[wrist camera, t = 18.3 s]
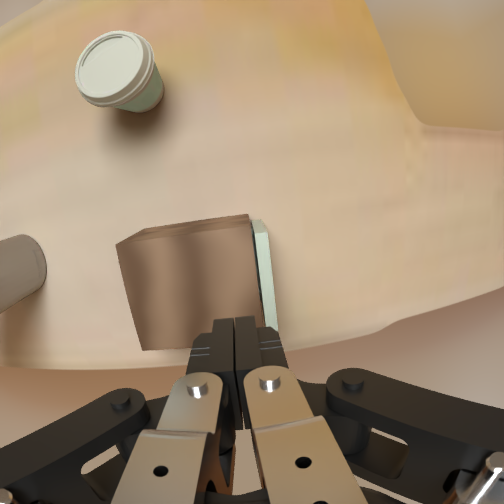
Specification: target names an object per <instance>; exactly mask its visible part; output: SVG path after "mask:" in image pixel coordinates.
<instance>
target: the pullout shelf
mask: <svg viewBox="0 0 504 504" xmlns="http://www.w3.org/2000/svg"><path fill="white" fill-rule="evenodd" d="M251 222H252V227H251V234H252V242H253V250H254V257H255V265H256V273H257V281H258V289H259V297H260V300H261V301H262V307H263V313H264V319H265V325H266V327H268V326H271V327H272V328H273V329H275V330H276V331H278V323H277V314H276V304H275V295H274V286H273V277H272V268H271V259H270V250H269V241H268V233H267V230H266V228H265V226H264V224H263V222H262V220H261V219H259V220H251Z"/></svg>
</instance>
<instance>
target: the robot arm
mask: <svg viewBox="0 0 504 504" xmlns="http://www.w3.org/2000/svg"><path fill="white" fill-rule="evenodd" d="M45 277H46V263H45V258H44V255H43V252H42V250H41V248H40V247H39V245H38V244H37V243H36V241H35V240H34V239H32V238H31V237H29V236H27V235H17V236H14V237H11V238H8V239H5V240H1V241H0V313H2V312H3V311H5V310H6V309H8V308H9V307H11V306H13V305H14V304H16V303H17V302H19V301H20V300H22V299H23V298H25V297H27V296H28V295H30V294H31V293H33V292H34V291H36V290H38V289H39V288H40V287H41V286H42V284H43V283H44V280H45ZM242 412H243V417H242ZM243 418H244V424H245V429H251V436H252V442H253V448H254V453H255V458H256V463H257V468H258V473H259V477H260V482H261V487H262V489H261V490H257V491H254V492H250V493H246V494H242V495H232V491H233V478H234V466H235V452H236V447H235V439H236V435H235V434H236V433H235V430H243ZM372 428H375V429H377V430H380V431H382V432H385V433H387V434H390V435H393V436H395V437H398V438H400V439H402V440H404V441H405V442H406V443H407V444H408V445H405V444H402V443H399V442H397V441H394V440H392V439H389V438H387V437H384V436H382V435H379V434H377V433H374V432H371V429H372ZM114 445H116V447H117V449H118V451H119V452H120V454H118V455H116V456H115V457H113V458H112V459H110V460H109V461H107V462H106V463H104V464H102V465H101V466H99V467H97V468H96V469H94V470H93V471H91V472H89V473H87V474H81V468H82V466H83V465H84V464H85V463H86V462H88V461H89V460H91V459H93V458H94V457H96V456H98V455H99V454H101V453H103V452H104V451H106V450H107V449H109V448H111V447H112V446H114ZM353 474H354V475H356V476H358V477H360V478H362V479H364V480H367V481H369V482H371V483H373V484H375V485H378V486H380V487H383V488H385V489H387V490H389V491H392V492H394V493H397V494H399V495H401V496H404V497H406V498H409V499H412V500H414V501H417V502H420V503H423V504H504V409H500V408H496V407H492V406H488V405H484V404H480V403H475V402H471V401H468V400H464V399H460V398H456V397H453V396H449V395H445V394H442V393H438V392H435V391H431V390H428V389H424V388H421V387H418V386H414V385H411V384H408V383H405V382H402V381H398V380H395V379H392V378H389V377H386V376H383V375H380V374H376V373H374V372H371V371H368V370H364V369H360V368H347V369H342V370H339V371H337V372H335V373H333V374H332V375H331V376H330V377H329V378H328V380H327V382H326V384H315V383H307V382H303V381H300V380H298V379H296V377H295V375H294V373H293V372H292V371H291V370H289V368H288V365H287V361H286V358H285V354H284V351H283V347H282V344H281V341H280V337H279V334H278V332H277V331H276V330H275V329H273V328H272V327H271V326H268V327H259V328H256V322H255V316H254V315H251V316H242V317H235V324H234V318H223V319H214V320H213V327H212V332H210V333H201V334H200V335H199V336H198V337H197V338H196V339H195V340H194V341H193V345H192V350H191V353H190V358H189V362H188V366H187V371H186V375H185V376H183V377H181V378H180V379H179V380H177V381H176V382H175V383H174V385H173V387H172V390H171V392H170V395H168V396H165V397H162V398H157V399H153V400H148V401H146V400H145V397H144V395H143V394H142V393H141V392H140V391H138V390H136V389H131V388H122V389H117V390H114V391H111V392H109V393H107V394H105V395H103V396H101V397H100V398H98V399H96V400H94V401H93V402H90V403H89V404H87V405H85V406H83V407H81V408H79V409H77V410H76V411H74V412H72V413H70V414H68V415H66V416H65V417H62V418H61V419H59V420H57V421H55V422H53V423H51V424H49V425H47V426H45V427H43V428H41V429H39V430H37V431H35V432H33V433H31V434H29V435H27V436H25V437H23V438H21V439H19V440H17V441H15V442H13V443H11V444H9V445H6V446H4V447H3V448H0V504H406V503H403V502H401V501H399V500H397V499H394V498H392V497H390V496H388V495H386V494H383V493H381V492H378V491H375V490H372V489H369V488H365V487H360V486H359V485H358V483H357V481H356V479H355V477H354V475H353Z"/></svg>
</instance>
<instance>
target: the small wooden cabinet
mask: <svg viewBox="0 0 504 504" xmlns="http://www.w3.org/2000/svg"><path fill="white" fill-rule="evenodd" d="M116 250H117V255H118V259H119V264H120V268H121V273H122V277H123V281H124V286H125V290H126V294H127V298H128V302H129V305H130V309H131V313H132V317H133V320H134V324H135V327H136V331H137V334H138V338H139V341H140V344H141V347H142V351H145V350H164V349H179V348H192V345H193V341H194V340H195V339H196V338H197V337H198V336H199V335H200V334H201V333H210V332H212V327H213V320H214V319H223V318H234V324H235V317H242V316H251V315H254V316H255V322H256V328H259V327H263V321H262V313H261V305H260V297H259V289H258V281H257V273H256V265H255V257H254V250H253V242H252V234H251V226H250V221H249V216H248V214H243V215H235V216H228V217H220V218H213V219H206V220H199V221H192V222H185V223H178V224H172V225H165V226H159V227H152V228H146V229H143V230H141V231H139V232H137V233H136V234H134V235H132V236H130V237H128V238H127V239H125V240H123V241H121V242H119V243H118V244H116Z"/></svg>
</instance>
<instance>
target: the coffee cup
mask: <svg viewBox="0 0 504 504" xmlns="http://www.w3.org/2000/svg"><path fill="white" fill-rule="evenodd" d="M75 80H76V84H77V86H78V89H79V92H80V93H81V95H82V96H83V97H84V98H85V99H86V100H87V101H88V102H89V103H91V104H93V105H95V106H98V107H115V108H119V109H123V110H127V111H132V112H136V113H142V112H146V111H149V110H151V109H153V108H154V107H155V106H156V105H157V104H158V103H159V102H160V100H161V98H162V96H163V93H164V85H163V82H162V79H161V76H160V74H159V72H158V69H157V67H156V64H155V62H154V54H153V50H152V47H151V46H150V44H149V43H148V41H147V40H145V39H144V38H143V37H141V36H140V35H138V34H135V33H132V32H127V31H112V32H108V33H105V34H103V35H101V36H99V37H98V38H96V39H95V40H93V41H92V42H91V43H90V44H89V45H88V46H87V47H86V48H85V49H84V51H83V52H82V54H81V55H80V57H79V59H78V62H77V64H76V68H75Z"/></svg>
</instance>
